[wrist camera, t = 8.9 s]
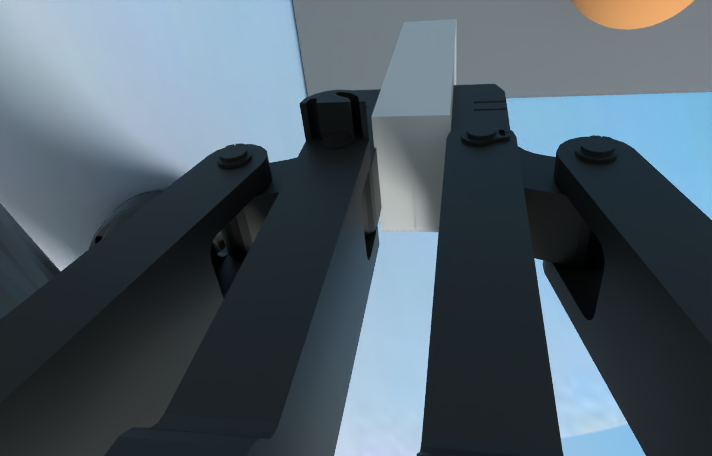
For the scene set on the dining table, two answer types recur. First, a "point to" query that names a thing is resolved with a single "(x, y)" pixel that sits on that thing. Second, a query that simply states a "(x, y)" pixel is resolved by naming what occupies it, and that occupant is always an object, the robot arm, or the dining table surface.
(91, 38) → the dining table surface
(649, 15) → the ball
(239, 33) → the dining table surface
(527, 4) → the mat
